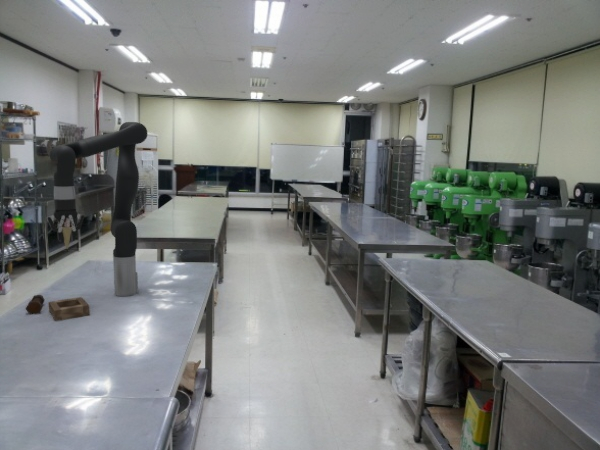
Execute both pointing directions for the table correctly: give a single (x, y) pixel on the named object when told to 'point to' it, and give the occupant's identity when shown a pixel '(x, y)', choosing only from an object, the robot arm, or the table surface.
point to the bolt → (35, 304)
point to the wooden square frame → (68, 308)
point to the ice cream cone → (66, 231)
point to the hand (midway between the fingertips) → (66, 240)
